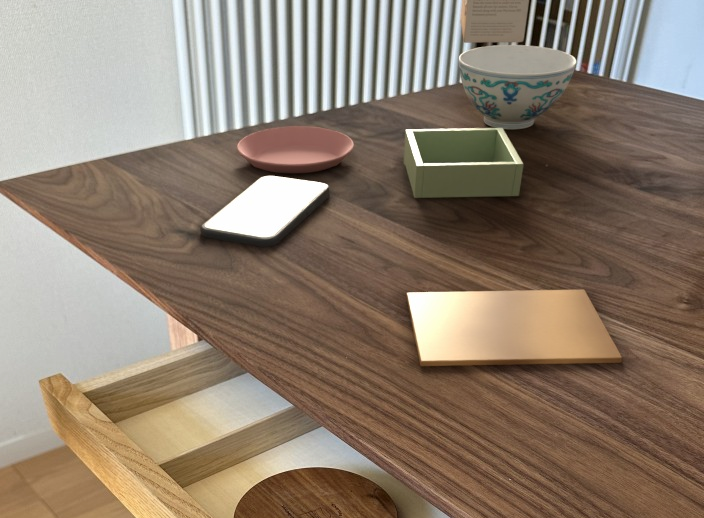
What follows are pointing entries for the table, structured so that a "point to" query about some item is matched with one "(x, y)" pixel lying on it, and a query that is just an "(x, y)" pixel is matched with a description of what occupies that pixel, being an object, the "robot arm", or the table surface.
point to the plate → (295, 149)
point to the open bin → (462, 163)
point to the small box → (493, 20)
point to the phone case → (266, 211)
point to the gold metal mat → (509, 328)
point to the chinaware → (514, 82)
